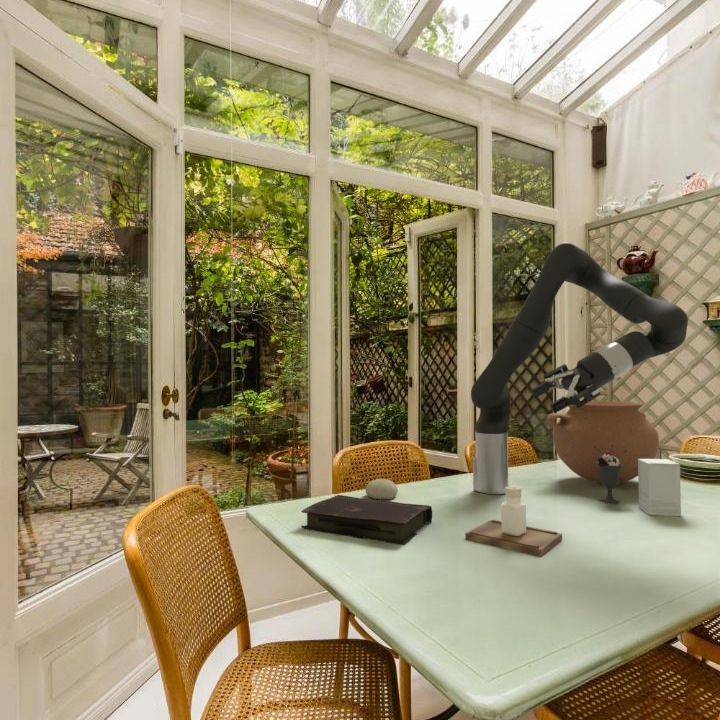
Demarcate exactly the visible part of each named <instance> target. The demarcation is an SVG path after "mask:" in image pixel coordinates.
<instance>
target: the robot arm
mask: <svg viewBox="0 0 720 720" xmlns="http://www.w3.org/2000/svg"><path fill="white" fill-rule="evenodd" d="M565 282H566V283H571V284H574V285H576V286H578V287H580V288H583V289H585V290H587V291H588V292H591V293H592V294H594V295H595V296H596V297H598V298H599V299H600V300H601V301H602V302H603V303H604V304H605V305H607V306H608V307H609V308H610V309H611V310H613V311H614V312H615V313H618V315H620V316H621V317H623V318H625V319H626V320H627V321H629V322H630V323H633V324H638V325H639V324H642V323H644V322H647V323H649V325H650V331H648V332H646V333H645V334H644V333H643V332H641V331H636V330H635V331H630V332H628V333H626V334H625V335H623V336H621V337H619V338H618V339H615V340H614V341H612V342H610V343H608V344H606V345H603V346H601V347H600V348H598V349H596V350H595V351H593V352H591V353H589V354H588V355H586V356H584V357H583V358H581V359H579V360H578V361H577V363H576V366H575V367H574V368H571V369H569V368H568V365H567V364H566V363H565V364H562V365H560V366H558V367H557V368H554V369H552V370H550V371H549V372H547V373H545V374H544V375H543V376H542V377H543V379H544V381H543V382H541V383H540V384H538V385H536V386H535V387H533V388H532V389H531V392H532V395H533V396H534V397H535V398H538V397H540V396H542V395H544V394H545V393H547V392H549V391H550V390H554V389H559V390H562V389H563V390H565V391H567V393H566V395H564V396H561V397H560V398H558V399H556V400H555V401H553V402H551V403H550V404H549V407H550V410H551V411H552V412H553V413H558V412H560V411H562V410H564V409H566V408H568V407H569V405H570V406H573V405H575V406H576V407H577V408H580V407H582V406H583V405H585V404H587V403H588V402H590V401H594V399H596V398H598V397H599V396H601V395H602V394H601V391H600V388H602V387H603V386H606V385H608V384H609V383H611V382H612V381H614V380H616V379H617V378H619V377H621V376H622V375H624V374H626V373H628V371H630V370H631V369H632V368H634V367H635V366H637V365H639V364H641V363H643V362H645V361H646V360H648V359H651V358H655V357H658V356H661V355H665V354H667V353H670V352H672V351H674V350H677V349H678V348H679V347H680V346H681V345H682V344H683V343H684V342H685V341H686V337H687V330H688V324H689V318H688V315H687V313H686V311H684V310H683V309H682V308H681V307H680V306H678V305H676V304H674V303H671V302H668V301H665V300H662V299H659V298H654V297H651V296H650V295H647V294H646V293H645V292H643V291H641V290H640V289H638V288H637V287H635V286H634V285H631V284H630V283H628V282H626V281H624V280H622V279H621V278H618V277H616V276H615V275H612V274H611V273H610V272H608V271H607V270H606V269H604V268H603V267H602V266H601V265H600V264H599V263H598V262H597V261H596V260H595V259H593V257H591V255H590V254H589V253H588V252H587V251H586V250H584V249H582V248H581V247H579V246H578V245H575V244H573V243H571V242H566V241H565V242H562V243H560V244H558V245H556V246H555V247H554V248H553V249H552V250H551V251H550V253H549V254H548V256H547V257H546V260H545V261H544V264H543V265H542V268H541V270H540V272H539V274H538V276H537V278H536V281H535V283H534V285H533V287H532V289H531V290H530V292H529V294H528V295H527V298H526V299H525V301H524V303H523V305H522V307H521V308H520V310H519V311H518V313H517V314H516V316H515V318H514V319H513V321H512V323H511V324H510V326H509V328H508V329H507V331H506V333H505V335H504V337H503V339H502V340H501V342H500V344H499V345H498V347H497V349H496V351H495V353H494V355H493V356H492V358H491V360H490V362H489V363H488V364H487V366H486V367H485V368H484V370H483V371H482V372H481V373H480V375H479V376H478V377H477V379H476V380H475V382H474V383H473V385H472V387H471V391H470V398H471V401H472V404H473V406H475V407H477V408H478V409H480V411H479V416H478V418H477V420H476V422H475V425H474V426H475V427H474V428H475V429H474V430H475V431H474V432H475V433H474V434H475V436H474V437H475V456H474V457H473V458H472V478H473V479H472V480H473V481H472V482H473V483H472V485H473V487H472V489H473V491H477V492H479V493H481V494H488V495H503V494H505V487H508V486H509V445H508V444H509V442H508V441H509V437H508V436H509V435H508V432H509V430H508V428H509V424H510V420H511V391H510V388H509V385H508V382H509V381H510V379H511V377H512V375H513V374H514V373H515V372H516V371H517V369H518V368H519V367H520V366H521V365H522V364H523V363H524V362H525V361H526V360H527V359H528V358H529V357H530V356H531V355H532V354H533V353H534V352H535V350H536V349H537V348H538V347H539V345H540V343H541V341H542V340H543V338H544V337H545V335H546V334H547V331H548V329H549V327H550V324H551V319H552V310H553V307H554V306H553V305H554V302H555V299H556V296H557V295H558V292H559V291H560V290H561V287H562V285H563V284H564V283H565ZM582 398H583V399H582ZM580 399H582V400H580Z"/></svg>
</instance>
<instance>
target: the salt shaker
mask: <svg viewBox="0 0 720 720" xmlns="http://www.w3.org/2000/svg"><path fill="white" fill-rule="evenodd" d="M504 494H505V501H503V502H502V503H501V506H500V511H501V512H500V513H501V517H500V518H501V520H500V521H501V525H502V532H503V533H505V534H509V535H513V536H520V535H522V534H524V533H525V532H526V526H527V507H526V504H525V503H523V502H522V487H520V486H517V485H516V486H515V485H510V486H508V487H505V493H504Z"/></svg>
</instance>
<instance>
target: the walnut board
mask: <svg viewBox="0 0 720 720" xmlns="http://www.w3.org/2000/svg"><path fill="white" fill-rule="evenodd" d="M464 535H465V536H464V537H465V540H467V541H468V540H469V541H473V542H477V543H481V544H486V545H490V546H495V547H499V548H504V549H508V550H512V551H516V552H520V553H521V552H522V553H525V554H530V555H534V556H539V557H542V556H543V555H545V554H546V553H548V551H550V550H551V549H553V548H554V547H555V546H556V545H557V544H559V543H560V542H561V541H562V540H563V534H562V533H558V532H557V531H554V530H553V531H552V530H548V529H543V528H537V527H532V526H527V525H526V532H525V533H524V534H522V535H520V536H513V535H509V534H505V533H503V532H502V525H501V520H496V519H490V520H488V521H486V522H484V523H482V524H480V525H478V526H476V527H475V528H473V529H471V530H469V531H467V532H465V534H464ZM558 542H559V543H558Z"/></svg>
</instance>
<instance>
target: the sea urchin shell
mask: <svg viewBox="0 0 720 720" xmlns="http://www.w3.org/2000/svg"><path fill="white" fill-rule="evenodd" d="M365 494H366V495H367V496H368V498H369V497H370V499H376V500H377V499H378V500H391V499H392V500H393V499H394V498H395V497H396V496H397V494H398V487H397V485H396V483H394V482H393V480H390V479H387V478H376V479H372V480H371V481H369V482H368V484H367V485H366V486H365Z"/></svg>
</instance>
